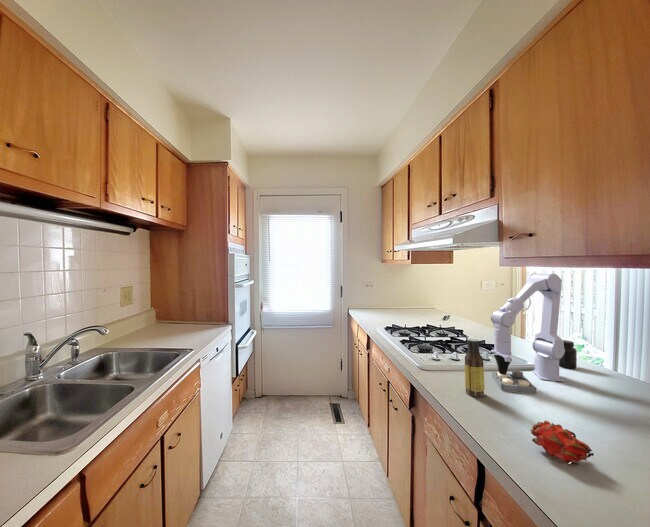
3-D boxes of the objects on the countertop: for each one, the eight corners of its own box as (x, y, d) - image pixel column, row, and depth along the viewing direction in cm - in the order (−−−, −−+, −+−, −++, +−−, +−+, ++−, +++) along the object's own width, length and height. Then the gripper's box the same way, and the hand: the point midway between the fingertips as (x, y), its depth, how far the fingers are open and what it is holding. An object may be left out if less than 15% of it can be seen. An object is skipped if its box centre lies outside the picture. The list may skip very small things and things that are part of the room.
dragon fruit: (526, 448, 73) (588, 480, 65) (524, 442, 68) (590, 476, 60) (534, 417, 76) (594, 444, 68) (533, 409, 71) (598, 437, 62)
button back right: (496, 376, 115) (496, 371, 115) (506, 377, 114) (506, 372, 114) (498, 379, 111) (498, 374, 111) (509, 380, 110) (509, 375, 110)
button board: (492, 377, 116) (492, 371, 116) (523, 380, 113) (522, 374, 113) (501, 390, 104) (501, 384, 104) (536, 394, 101) (536, 388, 101)
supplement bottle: (554, 365, 130) (554, 340, 130) (561, 363, 133) (561, 338, 133) (572, 370, 124) (571, 344, 124) (579, 368, 127) (579, 342, 127)
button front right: (501, 382, 109) (501, 377, 109) (511, 383, 107) (511, 378, 107) (503, 386, 105) (503, 381, 105) (514, 387, 104) (514, 382, 104)
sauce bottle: (487, 394, 101) (487, 340, 101) (478, 399, 97) (478, 343, 97) (470, 388, 106) (470, 336, 106) (461, 392, 102) (461, 339, 103)
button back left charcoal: (510, 374, 113) (510, 369, 113) (520, 375, 112) (520, 370, 112) (513, 378, 110) (513, 373, 110) (524, 379, 109) (524, 374, 109)
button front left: (516, 384, 107) (516, 379, 107) (527, 385, 106) (527, 380, 106) (519, 388, 104) (519, 382, 104) (531, 389, 102) (531, 384, 102)
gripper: (486, 335, 121) (486, 366, 121) (496, 344, 107) (496, 379, 107) (505, 336, 118) (505, 368, 118) (517, 346, 105) (517, 381, 105)
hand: (502, 373), depth 112 cm, fingers closed, pressing on button back right
